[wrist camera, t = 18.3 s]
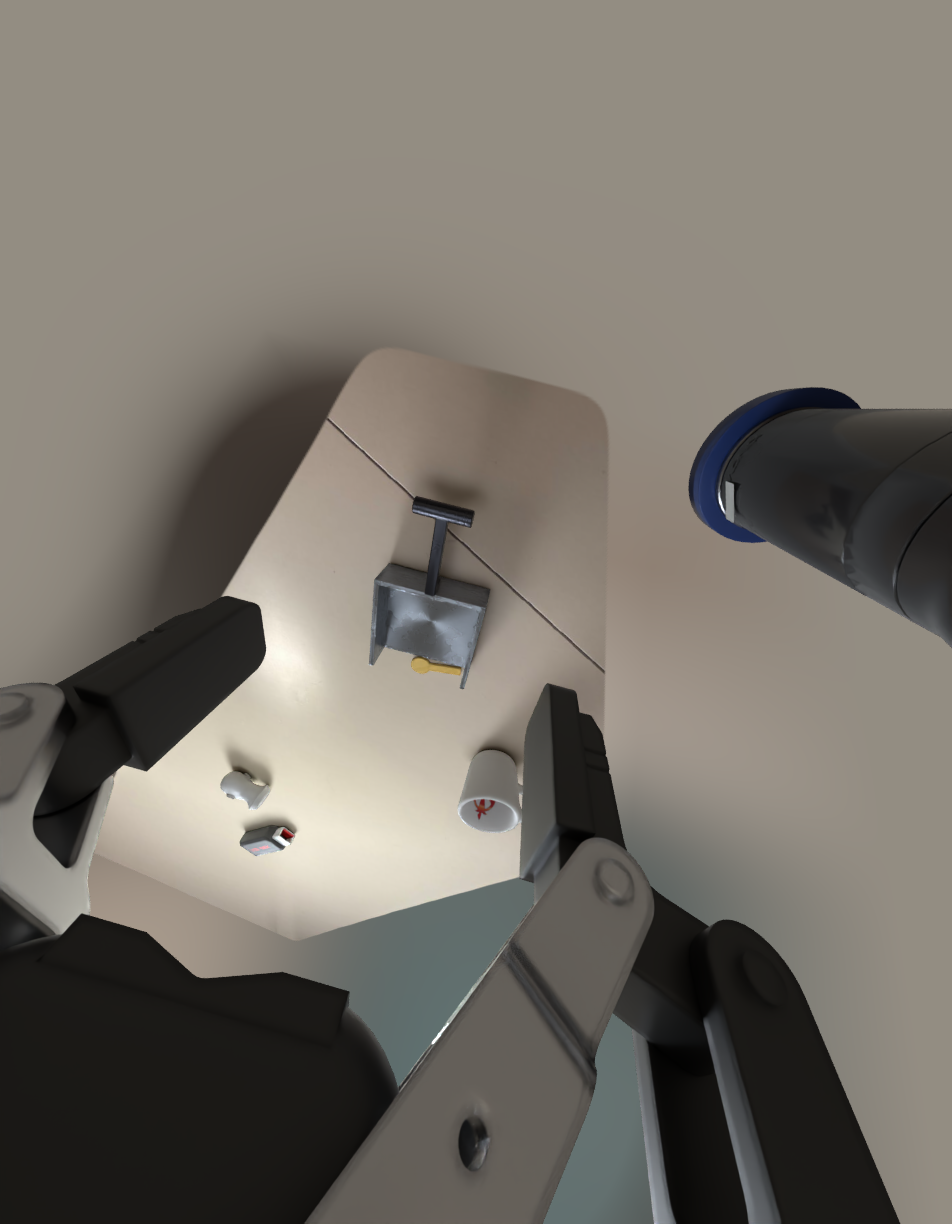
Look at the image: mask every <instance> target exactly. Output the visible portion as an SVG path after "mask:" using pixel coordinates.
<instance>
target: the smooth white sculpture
mask: <svg viewBox="0 0 952 1224" xmlns="http://www.w3.org/2000/svg"><path fill="white" fill-rule="evenodd" d="M250 778H251V777H250V775H249V774H247V773H245V774H242V773H240V772H237V771H234V772H230V773H228V774H227V775H226V776H225V777H224V778H223V779H222V781H221V789H222V791H224V792H225V793H226V794H227V797H229V798H232V799H234V798H235V799H244V800H245V801H246V802H247V803H248V805H249V810H254V809H257V808H258V807H259V806H260V805H261V804H262V803H263V802H264V800H265V799H266V798H267V796H268V794H269V793H270V788H269V786H268V785H265V786H258V785H256V784H254V783H253V782H252V781H251V780H250Z"/></svg>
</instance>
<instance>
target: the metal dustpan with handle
mask: <svg viewBox="0 0 952 1224" xmlns="http://www.w3.org/2000/svg"><path fill="white" fill-rule="evenodd" d="M412 512H413V513H415V514H419V515H423V516H427V517H430V518H434V519H436V521H435V528H434V534H433V541H432V547H431V554H430V560H429V566H428V573H425V572H421V571H417V570H414V569H410V568H406V567H402V566H398V565H394V564H391V563H389V564H388V565H387V566H386V567H385V568H384V569H383V570H382V572H381V573H380V574H379V575H378V576H377V577H376V578H375V580H374V595H373V611H372V627H371V643H370V658H369V665H374V663H375V662H376V660H377V658H378V657H379V655H380V653H381V652H382V650H383V648H384V647H387V648H391V649H394V650H398V651H402V652H406V653H410V654H414V655H417V656H421V657H425V658H429V659H433V660H437V661H441V662H444V663H448V664H452V665H456V666H460V667H464V668H465V669H464V673H463V677H462V681H461V685H460V688H461V689H464V687H465V683H466V680H467V676H468V673H469V669H470V665H471V662H472V658H473V654H474V651H475V647H476V643H477V640H478V636H479V633H480V629H481V625H482V622H483V618H484V614H485V611H486V607H487V602H488V598H489V593H490V589H487V588H483V587H479V586H475V585H471V584H468V583H464V582H460V581H456V580H452V579H448V578H444V577H441V576H439V574H440V568H441V563H442V557H443V551H444V546H445V540H446V534H447V529H448V523H449V522H450V523H454V524H457V525H461V526H465V527H469V528H471V527H472V524H473V520H474V515H475V511H473V510H469V509H465V508H461V507H458V506H454V505H450V504H446V503H442V502H438V501H434V500H431V499H427V498H423V497H419V496H416V497H415V498H414V501H413V505H412Z"/></svg>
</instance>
